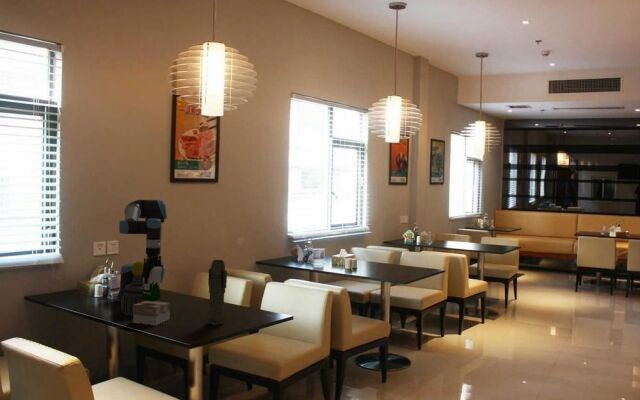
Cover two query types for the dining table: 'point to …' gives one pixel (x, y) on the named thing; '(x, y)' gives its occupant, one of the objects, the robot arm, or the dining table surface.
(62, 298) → the dining table surface
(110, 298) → the dining table surface
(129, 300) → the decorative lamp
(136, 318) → the tower base
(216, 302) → the dark figurine statue
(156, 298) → the soya milk
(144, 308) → the tower top
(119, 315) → the dining table surface
